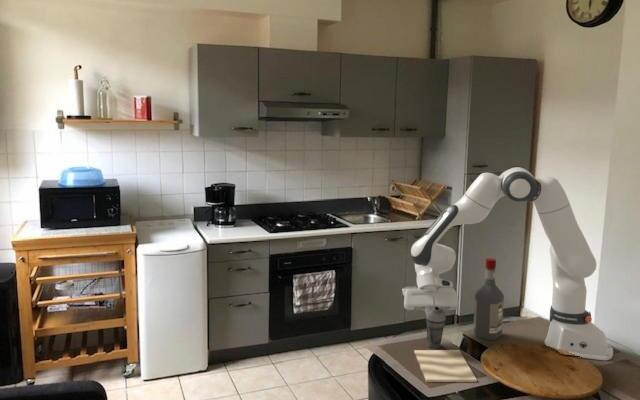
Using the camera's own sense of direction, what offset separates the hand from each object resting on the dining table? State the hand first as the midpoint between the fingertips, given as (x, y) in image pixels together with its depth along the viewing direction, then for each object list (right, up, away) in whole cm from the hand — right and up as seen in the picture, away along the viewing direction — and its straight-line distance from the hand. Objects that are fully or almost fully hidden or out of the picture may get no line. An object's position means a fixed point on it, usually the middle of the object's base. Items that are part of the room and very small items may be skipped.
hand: (433, 319), depth 202 cm
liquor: (+23, -8, +9) cm, 26 cm away
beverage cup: (0, -9, -1) cm, 9 cm away
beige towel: (0, -12, -17) cm, 20 cm away
